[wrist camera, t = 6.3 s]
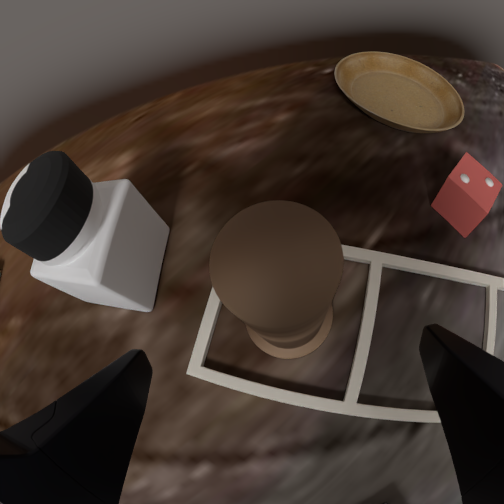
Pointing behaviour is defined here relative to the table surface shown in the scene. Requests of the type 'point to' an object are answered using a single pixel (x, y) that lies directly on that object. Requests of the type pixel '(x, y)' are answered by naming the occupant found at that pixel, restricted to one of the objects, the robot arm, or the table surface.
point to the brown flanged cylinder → (279, 275)
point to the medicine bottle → (86, 233)
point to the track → (363, 342)
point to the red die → (467, 195)
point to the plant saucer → (399, 92)
